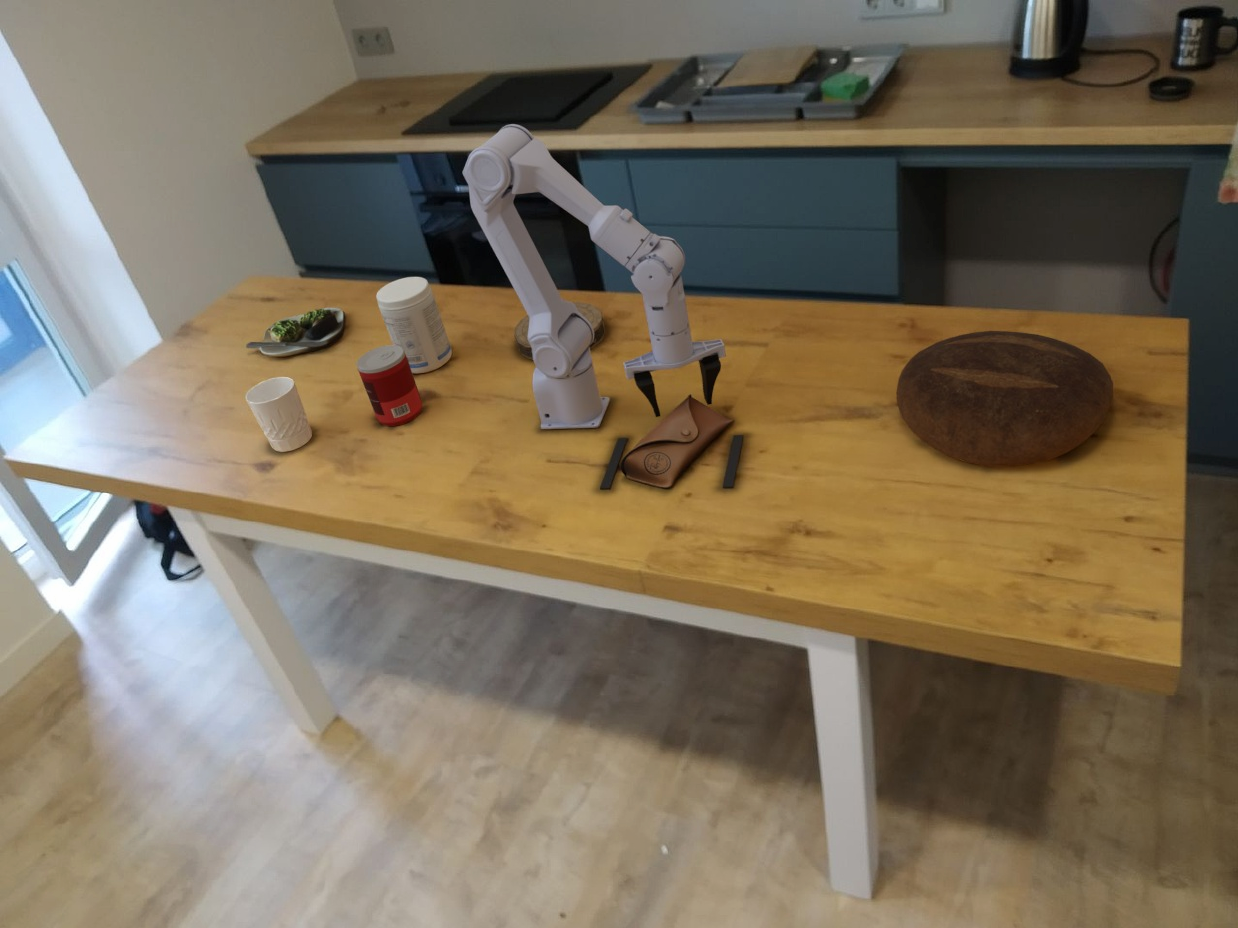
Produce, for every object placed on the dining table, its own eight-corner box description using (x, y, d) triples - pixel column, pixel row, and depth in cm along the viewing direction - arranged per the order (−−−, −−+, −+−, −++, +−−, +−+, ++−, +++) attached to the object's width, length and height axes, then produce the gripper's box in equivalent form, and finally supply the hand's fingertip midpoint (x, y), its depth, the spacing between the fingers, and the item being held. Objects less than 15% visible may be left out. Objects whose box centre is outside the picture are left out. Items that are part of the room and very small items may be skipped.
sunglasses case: (671, 488, 133) (644, 448, 132) (639, 499, 139) (612, 461, 137) (737, 418, 144) (712, 381, 143) (705, 430, 149) (681, 394, 148)
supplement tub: (439, 343, 183) (416, 270, 175) (462, 359, 176) (439, 284, 168) (392, 364, 179) (366, 291, 171) (414, 381, 173) (388, 306, 164)
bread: (928, 347, 151) (928, 296, 146) (1125, 367, 138) (1133, 311, 133) (868, 452, 133) (866, 398, 128) (1089, 487, 119) (1096, 428, 114)
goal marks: (600, 489, 137) (599, 487, 137) (618, 439, 146) (618, 438, 146) (733, 488, 132) (732, 486, 132) (743, 436, 141) (743, 434, 141)
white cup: (273, 460, 159) (249, 408, 154) (265, 439, 165) (241, 389, 160) (320, 441, 162) (298, 390, 156) (310, 421, 168) (288, 371, 162)
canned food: (432, 402, 165) (413, 345, 159) (405, 429, 160) (384, 371, 153) (396, 399, 169) (375, 343, 162) (368, 425, 163) (346, 368, 157)
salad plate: (243, 373, 188) (233, 352, 185) (256, 331, 203) (247, 311, 200) (342, 349, 188) (334, 328, 186) (348, 310, 203) (341, 289, 200)
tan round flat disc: (545, 314, 185) (541, 300, 183) (620, 319, 178) (617, 304, 176) (501, 357, 174) (497, 342, 172) (579, 364, 167) (576, 349, 165)
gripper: (712, 302, 141) (723, 382, 149) (614, 325, 141) (630, 405, 149) (724, 323, 136) (735, 406, 143) (621, 348, 135) (638, 429, 143)
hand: (682, 407), depth 146 cm, fingers open, 7 cm apart
